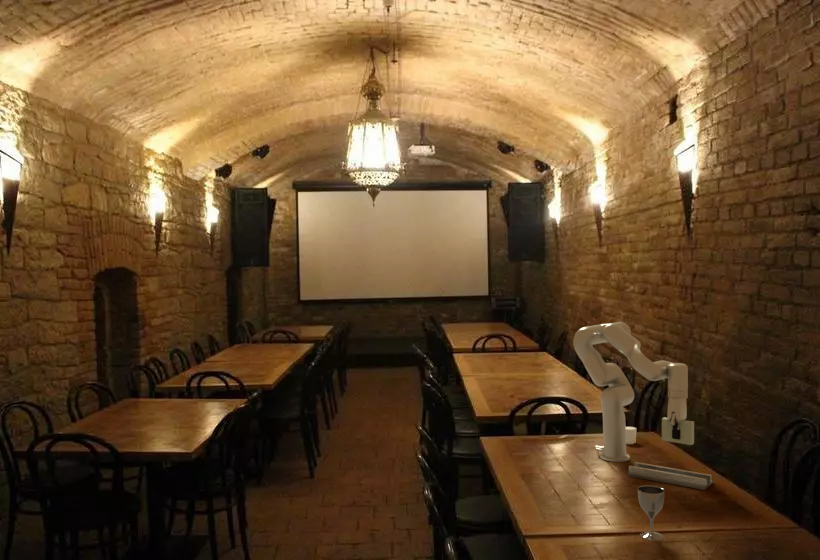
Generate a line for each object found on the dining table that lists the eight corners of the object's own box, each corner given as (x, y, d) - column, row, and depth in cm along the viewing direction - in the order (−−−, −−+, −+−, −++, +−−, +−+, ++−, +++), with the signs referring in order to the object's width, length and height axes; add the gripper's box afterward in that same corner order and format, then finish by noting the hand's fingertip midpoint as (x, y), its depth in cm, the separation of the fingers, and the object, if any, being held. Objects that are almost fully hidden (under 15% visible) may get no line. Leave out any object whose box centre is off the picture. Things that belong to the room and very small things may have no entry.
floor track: (627, 475, 277) (627, 467, 277) (637, 469, 284) (637, 461, 284) (704, 490, 257) (704, 480, 257) (712, 483, 265) (712, 474, 265)
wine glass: (634, 532, 221) (633, 486, 220) (658, 530, 221) (657, 484, 221) (645, 542, 213) (644, 494, 212) (669, 540, 213) (668, 492, 213)
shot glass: (635, 440, 329) (634, 426, 328) (638, 444, 322) (638, 429, 322) (620, 440, 329) (620, 426, 329) (623, 444, 322) (623, 429, 322)
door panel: (661, 440, 283) (661, 418, 282) (664, 438, 285) (664, 417, 285) (691, 445, 275) (691, 423, 275) (694, 443, 277) (694, 421, 277)
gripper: (675, 389, 288) (675, 432, 289) (661, 395, 275) (661, 440, 276) (693, 391, 283) (693, 435, 284) (680, 398, 270) (680, 444, 271)
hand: (677, 437), depth 280 cm, fingers closed on door panel, 3 cm apart
